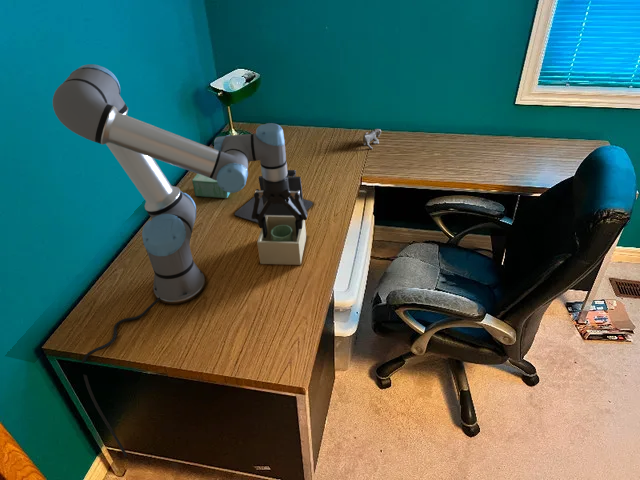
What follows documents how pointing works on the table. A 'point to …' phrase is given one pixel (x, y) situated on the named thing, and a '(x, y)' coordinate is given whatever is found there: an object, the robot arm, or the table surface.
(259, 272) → the table surface
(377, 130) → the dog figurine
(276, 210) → the bin lid
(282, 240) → the green cup
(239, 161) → the robot arm
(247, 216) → the mouse pad
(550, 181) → the table surface
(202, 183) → the box
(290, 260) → the open square bin
